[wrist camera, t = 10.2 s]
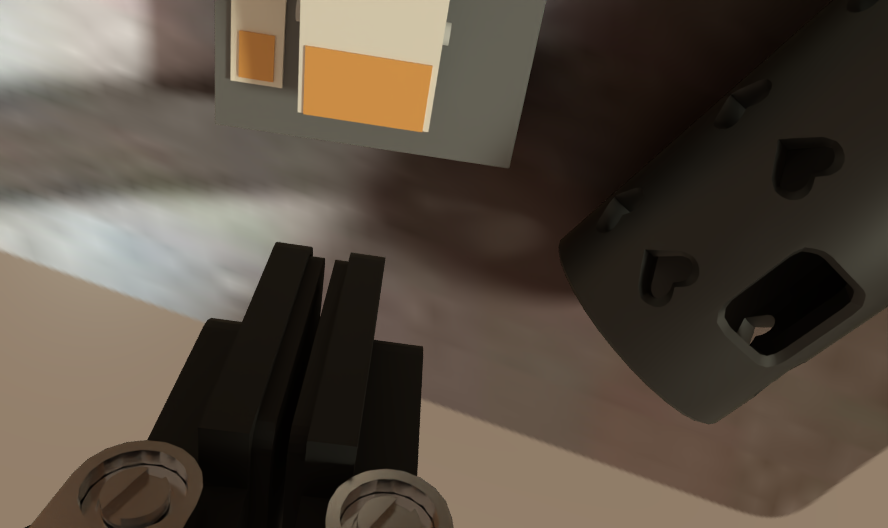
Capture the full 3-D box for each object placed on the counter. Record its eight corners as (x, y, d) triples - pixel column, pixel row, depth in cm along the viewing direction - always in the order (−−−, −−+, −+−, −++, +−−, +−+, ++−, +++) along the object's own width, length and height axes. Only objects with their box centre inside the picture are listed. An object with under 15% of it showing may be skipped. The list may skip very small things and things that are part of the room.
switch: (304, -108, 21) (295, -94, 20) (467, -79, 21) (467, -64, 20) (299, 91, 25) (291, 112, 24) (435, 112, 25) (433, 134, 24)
